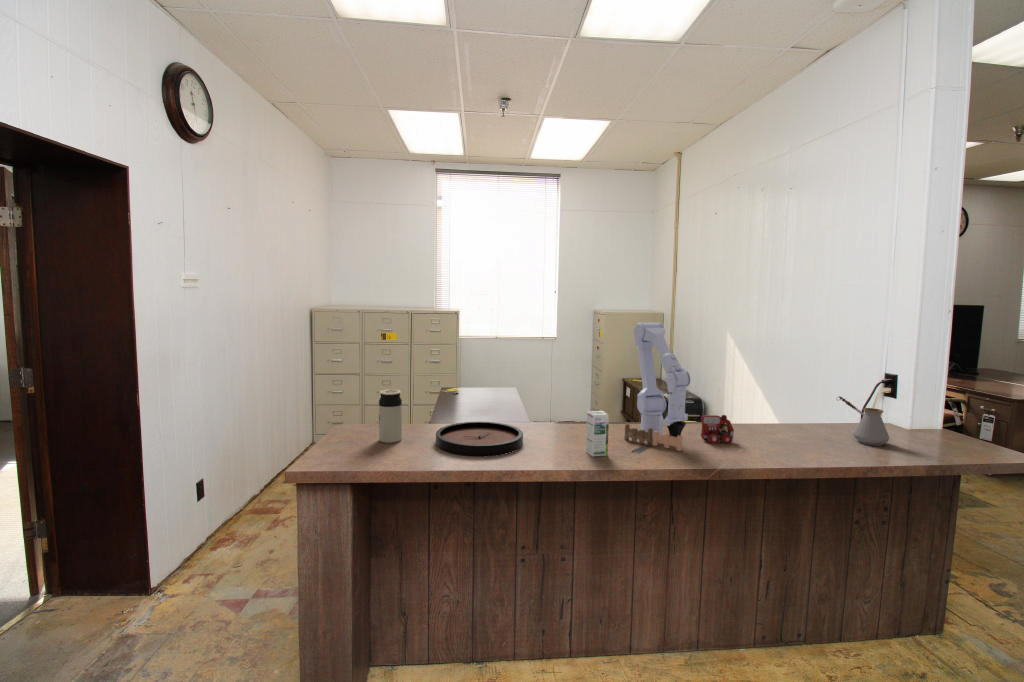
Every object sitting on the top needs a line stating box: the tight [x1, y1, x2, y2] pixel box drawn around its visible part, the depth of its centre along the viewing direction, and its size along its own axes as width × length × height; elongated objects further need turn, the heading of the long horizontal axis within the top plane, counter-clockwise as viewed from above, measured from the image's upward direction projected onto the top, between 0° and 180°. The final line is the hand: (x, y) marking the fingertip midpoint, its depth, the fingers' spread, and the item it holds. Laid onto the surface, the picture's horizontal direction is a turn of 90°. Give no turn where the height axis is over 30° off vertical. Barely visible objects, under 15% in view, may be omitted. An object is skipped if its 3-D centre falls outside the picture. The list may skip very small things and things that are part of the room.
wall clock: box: [435, 421, 524, 458], centre depth 184 cm, size 31×4×31 cm
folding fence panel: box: [652, 431, 683, 452], centre depth 180 cm, size 10×1×5 cm, turn 52°
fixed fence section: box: [624, 423, 653, 446], centre depth 187 cm, size 2×11×6 cm, turn 51°
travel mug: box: [378, 389, 403, 444], centre depth 184 cm, size 8×8×18 cm
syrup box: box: [585, 410, 610, 458], centre depth 174 cm, size 6×6×14 cm
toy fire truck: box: [700, 414, 735, 445], centre depth 191 cm, size 7×12×10 cm, turn 94°
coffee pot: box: [836, 396, 890, 447], centre depth 199 cm, size 21×12×15 cm, turn 14°
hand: (674, 442), depth 182 cm, fingers closed
